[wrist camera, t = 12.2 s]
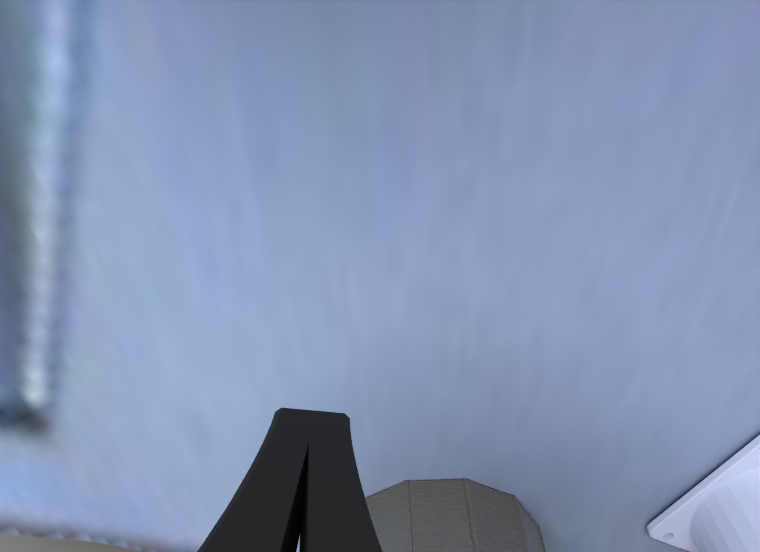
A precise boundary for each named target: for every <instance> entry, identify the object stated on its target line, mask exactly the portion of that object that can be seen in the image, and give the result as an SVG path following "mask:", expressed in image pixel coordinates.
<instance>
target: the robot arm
mask: <svg viewBox="0 0 760 552" xmlns="http://www.w3.org/2000/svg"><path fill="white" fill-rule="evenodd" d="M647 531H648V533H649V535H650V537H652V538H654V539H657V540H659V541H662V542H665V543H668V544H671V545H674V546H676V547H679V548H682V549H685V550H688V551H690V552H760V435H759V436H757V437H756V438H755V439H754V440H752V441H751V442H750V443H749V444H747V445H746V446H745V447H744V448H742V449H741V450H740V451H739V452H737V453H736V454H735V455H734V456H732V457H731V458H730V459H729V460H728V461H726V462H725V463H724V464H723V465H721V466H720V467H719V468H718V469H716V470H715V471H714V472H713V473H711V474H710V475H709V476H708V477H706V478H705V479H704V480H703V481H701V482H700V483H699V484H698V485H696V486H695V487H694V488H693V489H692V490H690V491H689V492H688V493H687V494H685V495H684V496H683V497H682V498H680V499H679V500H678V501H677V502H675V503H674V504H673V505H672V506H670V507H669V508H668V509H667V510H665V511H664V512H663V513H662V514H660V515H659V516H658V517H657V518H656V519H654V520H653V521H652V522H651V523H649V525H648V526H647ZM299 536H300V552H383V551H382V549H381V546H380V543H379V540H378V538H377V535H376V532H375V529H374V526H373V523H372V520H371V517H370V513H369V510H368V507H367V503H366V500H365V497H364V493H363V490H362V486H361V482H360V479H359V475H358V470H357V466H356V461H355V457H354V452H353V446H352V440H351V432H350V418H349V417H348V416H347V415H346V414H345V413H334V412H323V411H312V410H301V409H290V408H281V409H279V410H277V411H276V412H275V415H274V417H273V420H272V423H271V426H270V428H269V430H268V433H267V435H266V437H265V440H264V442H263V444H262V446H261V448H260V450H259V452H258V454H257V456H256V458H255V460H254V462H253V463H252V465H251V467H250V469H249V471H248V472H247V474H246V476H245V478H244V479H243V481H242V483H241V485H240V486H239V488H238V490H237V491H236V493H235V495H234V497H233V498H232V500H231V502H230V503H229V505H228V506H227V508H226V510H225V511H224V513H223V514H222V516H221V517H220V519H219V520H218V522H217V523H216V525H215V526H214V528H213V529H212V531H211V532H210V534H209V535H208V537H207V538H206V540H205V541H204V543H203V544H202V546H201V547H200V549H199V550H198V552H296V550H297V545H298V540H299Z"/></svg>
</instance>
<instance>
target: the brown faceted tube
mask: <svg viewBox="0 0 760 552" xmlns="http://www.w3.org/2000/svg"><path fill="white" fill-rule="evenodd" d="M365 500H366V503H367V507H368V510H369V513H370V517H371V520H372V523H373V526H374V529H375V532H376V535H377V538H378V540H379V543H380V546H381V549H382V551H383V552H546V551H545V547H544V543H543V539H542V536H541V532H540V528H539V525H537V524H536V523H535V521H534V520H533V519H532V518H531V516H530V515H529V514H528V513H527V511H526V510H525V509H524V508H523V506H522V505H521V504H520V503H519V501H518V500H517V497H515V496H514V495H513V496H512V495H509V494H506V493H503V492H501V491H498V490H495V489H492V488H489V487H486V486H484V485H481V484H478V483H475V482H472V481H469V480H468V479H464V478H463V479H453V480H422V481H409V480H407V481H404V482H403V483H400V484H398V485H395V486H393V487H391V488H388V489H386V490H383V491H381V492H379V493H376V494H374V495H371V496H369V497H367V498H365Z"/></svg>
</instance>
